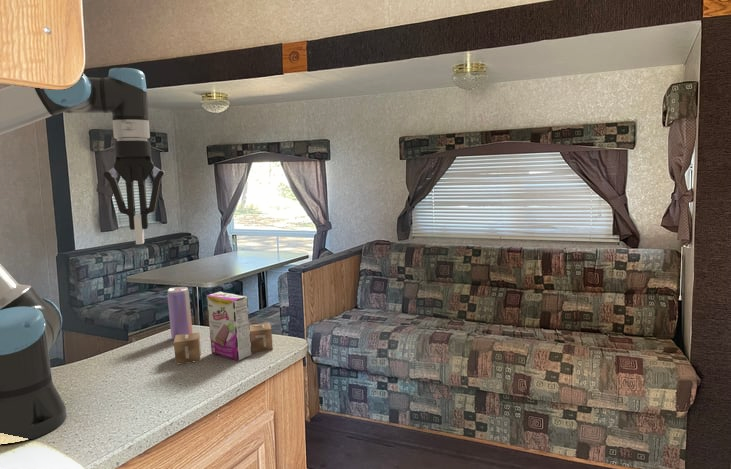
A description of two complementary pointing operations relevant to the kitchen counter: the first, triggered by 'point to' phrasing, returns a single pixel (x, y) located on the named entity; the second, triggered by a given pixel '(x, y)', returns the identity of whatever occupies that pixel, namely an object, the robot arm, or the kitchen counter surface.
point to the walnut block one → (187, 348)
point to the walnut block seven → (261, 337)
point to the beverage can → (179, 311)
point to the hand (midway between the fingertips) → (140, 243)
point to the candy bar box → (229, 325)
